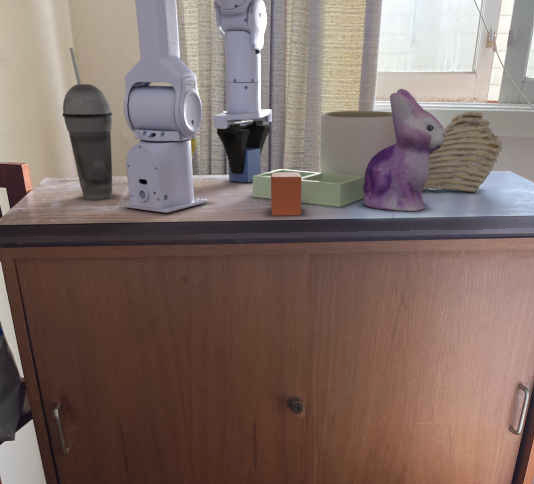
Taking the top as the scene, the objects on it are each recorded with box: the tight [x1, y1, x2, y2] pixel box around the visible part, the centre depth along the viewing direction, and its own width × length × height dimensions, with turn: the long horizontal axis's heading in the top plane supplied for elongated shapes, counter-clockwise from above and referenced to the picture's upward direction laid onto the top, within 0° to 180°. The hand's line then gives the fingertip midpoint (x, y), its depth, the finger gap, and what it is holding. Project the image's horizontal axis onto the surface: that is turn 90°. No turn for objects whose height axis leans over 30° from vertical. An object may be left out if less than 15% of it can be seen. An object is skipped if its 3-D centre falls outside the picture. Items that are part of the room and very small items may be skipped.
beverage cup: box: [62, 47, 114, 201], centre depth 102 cm, size 7×7×20 cm
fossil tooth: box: [422, 111, 503, 193], centre depth 109 cm, size 12×6×15 cm
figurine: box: [362, 88, 446, 212], centre depth 97 cm, size 9×10×15 cm
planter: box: [319, 110, 396, 177], centre depth 111 cm, size 12×12×11 cm
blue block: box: [228, 147, 261, 184], centre depth 119 cm, size 4×4×5 cm
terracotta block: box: [270, 172, 302, 217], centre depth 96 cm, size 4×4×5 cm
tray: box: [252, 168, 365, 208], centre depth 106 cm, size 15×8×3 cm, turn 57°
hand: (244, 171), depth 119 cm, fingers closed on blue block, 4 cm apart
